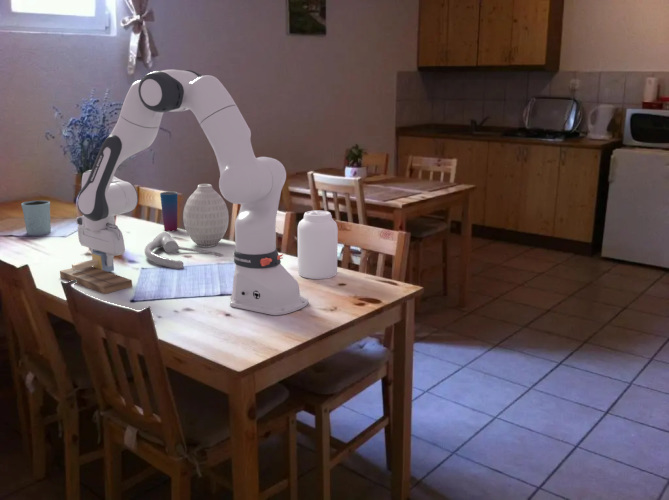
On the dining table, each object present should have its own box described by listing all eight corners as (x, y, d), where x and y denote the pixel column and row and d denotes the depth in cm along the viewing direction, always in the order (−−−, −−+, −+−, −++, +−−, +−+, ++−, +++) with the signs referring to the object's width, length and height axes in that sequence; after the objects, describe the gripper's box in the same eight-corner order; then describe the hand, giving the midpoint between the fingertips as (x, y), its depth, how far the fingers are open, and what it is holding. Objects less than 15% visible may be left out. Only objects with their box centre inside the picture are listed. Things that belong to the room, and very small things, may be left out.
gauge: (113, 270, 203) (112, 252, 201) (78, 279, 194) (76, 260, 192) (105, 267, 206) (103, 249, 204) (69, 275, 197) (68, 257, 195)
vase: (220, 251, 228) (218, 189, 222) (177, 249, 231) (174, 187, 225) (235, 240, 244) (233, 182, 238) (194, 238, 246) (191, 180, 240)
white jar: (291, 277, 200) (291, 214, 195) (306, 266, 212) (306, 206, 207) (328, 281, 196) (329, 217, 191) (342, 270, 208) (343, 210, 202)
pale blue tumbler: (26, 236, 245) (22, 205, 242) (23, 231, 253) (20, 201, 250) (54, 234, 250) (51, 203, 247) (51, 228, 258) (48, 199, 255)
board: (132, 286, 189) (131, 279, 189) (104, 293, 182) (104, 287, 182) (87, 270, 204) (86, 264, 203) (60, 277, 197) (59, 270, 196)
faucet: (231, 256, 233) (205, 278, 206) (158, 243, 236) (123, 264, 209) (233, 243, 231) (206, 264, 205) (159, 231, 235) (123, 250, 208)
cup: (171, 227, 264) (169, 190, 260) (183, 229, 260) (181, 192, 256) (158, 230, 258) (156, 193, 254) (169, 232, 254) (167, 195, 251)
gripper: (128, 224, 195) (131, 268, 198) (91, 214, 207) (94, 256, 210) (109, 227, 190) (113, 272, 193) (72, 217, 202) (76, 260, 206)
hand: (103, 263), depth 202 cm, fingers closed on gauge, 5 cm apart
